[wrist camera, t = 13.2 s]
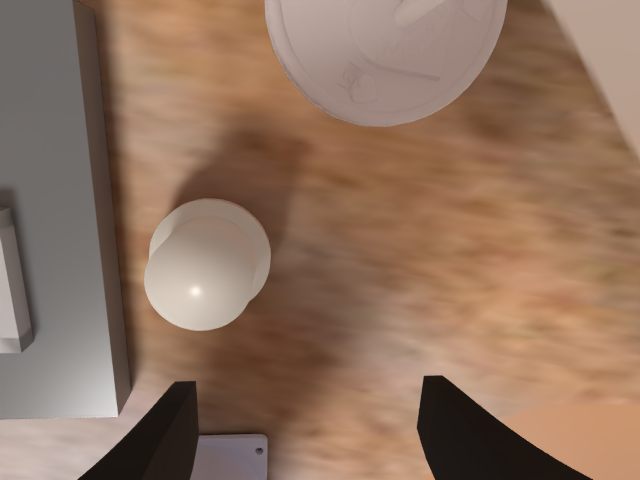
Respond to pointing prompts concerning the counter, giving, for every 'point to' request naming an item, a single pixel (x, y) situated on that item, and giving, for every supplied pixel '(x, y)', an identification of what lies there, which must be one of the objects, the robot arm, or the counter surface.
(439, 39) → the smoothie
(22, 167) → the socket block
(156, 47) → the counter surface
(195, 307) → the plug
